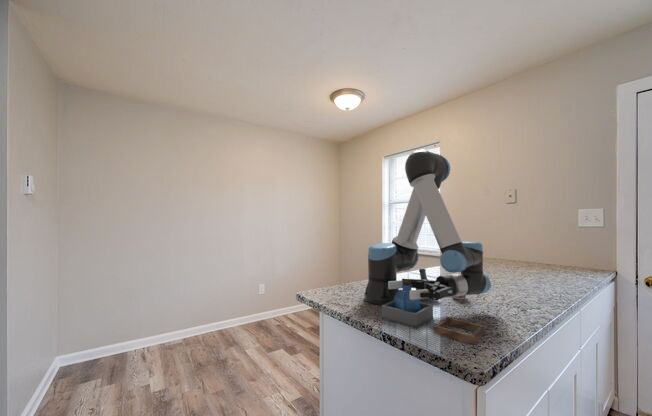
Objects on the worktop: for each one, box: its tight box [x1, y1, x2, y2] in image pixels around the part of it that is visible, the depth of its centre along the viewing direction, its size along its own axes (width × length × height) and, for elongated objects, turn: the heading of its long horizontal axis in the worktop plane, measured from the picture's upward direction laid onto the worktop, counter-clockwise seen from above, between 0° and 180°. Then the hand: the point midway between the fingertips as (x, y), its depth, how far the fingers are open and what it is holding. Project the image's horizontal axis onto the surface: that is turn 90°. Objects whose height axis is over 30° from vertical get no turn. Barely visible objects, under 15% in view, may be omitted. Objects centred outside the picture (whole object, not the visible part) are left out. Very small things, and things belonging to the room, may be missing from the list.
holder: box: [433, 316, 486, 345], centre depth 83 cm, size 11×11×2 cm
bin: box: [381, 301, 434, 330], centre depth 95 cm, size 13×13×4 cm
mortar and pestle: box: [415, 268, 435, 301], centre depth 120 cm, size 11×9×12 cm
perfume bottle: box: [394, 279, 421, 313], centre depth 95 cm, size 6×6×12 cm
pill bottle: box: [451, 273, 467, 300], centre depth 121 cm, size 6×6×10 cm
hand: (398, 289), depth 94 cm, fingers open, 13 cm apart
